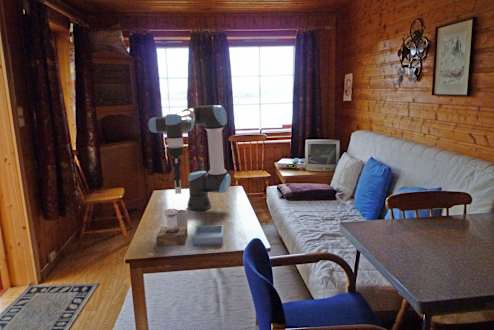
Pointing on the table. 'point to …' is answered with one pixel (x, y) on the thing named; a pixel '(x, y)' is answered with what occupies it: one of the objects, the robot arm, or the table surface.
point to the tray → (208, 235)
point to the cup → (182, 218)
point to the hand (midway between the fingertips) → (178, 190)
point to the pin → (171, 220)
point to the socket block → (172, 237)
